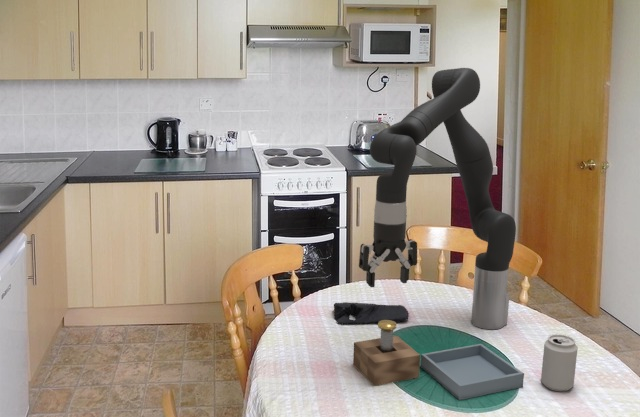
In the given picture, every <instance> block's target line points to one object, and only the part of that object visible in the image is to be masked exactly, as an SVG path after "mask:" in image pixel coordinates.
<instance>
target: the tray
mask: <svg viewBox="0 0 640 417" xmlns="http://www.w3.org/2000/svg"><path fill="white" fill-rule="evenodd" d="M420 368H421V369H422V368H423V369H424V371H425V373H427V374H428V375H429V376H430V375H431V376H430V377H432V378H433V379H434V380H435V381H436V382H437V383H439V384H440V385H441V386H442V387H443V388H445V390H446V391H448V392H449V393H450V394H452V395H453V396H454V397H455V398H456V399H457V400H459V401H462V400H467V399H472V398H476V397H481V396H485V395H486V396H487V395H490V394H491V395H492V394H495V393H501V392H505V391H510V390H514V389H520V388H523V387H524V378H525V373H524V372H522V371H521V370H520V369H518V368H517V367H516V366H514V365H512V363H510V362H508V361H507V360H505V359H504V358H502V357H501V356H500V355H498V354H497V353H496V352H494V351H492V350H491V349H490V348H488V347H487V346H485V345H484V344H482V343H475V344H471V345H466V346H460V347H455V348H449V349H444V350H443V349H442V350H436V351H432V352H427V353H421V354H420ZM423 369H422V370H423Z"/></svg>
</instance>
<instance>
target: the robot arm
mask: <svg viewBox="0 0 640 417" xmlns="http://www.w3.org/2000/svg"><path fill="white" fill-rule="evenodd" d="M431 90H432V91H431V92H432V96H433V98H432V99H429V100H428V101H426V102H424V103H421V104H419V105H418V106H416V107H415V108H413V109H412V110H411V111H410V112H409V113H408V114H407V115H406V116H404V117H403V118H402V119H401V120H400V121H399V122H396V123H394V124H392V125H390V126H387V127H386V128H384V129H382V130H380V131H379V132H378V133H377V134H375V136H374V137H372V138H373V139H372V141H371V142H370V146H369V153H370V156H371V158H372V159H373V161H375V162H377V163H380V164H383V165H385V164H386V165H389V166H390V165H391V166H394V167H393V170H392V172H391V173H384V174H381V175H379V176H378V177H377V179H376V185H375V186H376V189H375V204H374V208H373V210H374V212H373V213H374V216H373V243H372V244H365V243H362V244H360V247H359V248H360V249H359V256H358V257H359V259H358V268H359V269H361V270H362V271H364V272H365V274H366V278H365V282H366V284H367V285H368V286H369V287H370V288H375V286H376V284H375V283H376V280H375V279H376V272H375V271H376V270H377V268H378V267H379V266H380V265H381V264H382V263H388V262H390V261H391V262H396V261H398V262H399V263H400V265H401V266H400V275H399V279H400V280H399V282H401V283H402V284H407V282H408V281H409V278H410V268H411V267H413V266H417V265H418V242H417V241H415V240H414V239H411V238H410V239H408V240H407V241H406V240H405V239H406V235H407V234H406V231H407V217H408V214H407V213H408V212H407V208H408V207H407V189H408V187H407V186H408V182H409V179H410V174H411V172H412V168H413V165H414V162H415V160H416V156H417V146H418V145H420V144H422V142H424V141H425V140H426V138H427V137H429V136H430V135H431V134H432V133H433V132H434V131H435V129H437V128H438V127H439V126H440V125H442V123H443V124H444V126H445V130H446V132H447V135H448V136H447V137H448V140H449V142H450V145H451V148H452V149H451V150H452V152H453V156H454V160H455V163H456V164H455V165H456V168H457V171H458V174H459V176H460V180H461V183H462V188H463V192H464V195H465V198H466V202H467V207H468V212H469V219H470V220H469V221H470V224H471V225H470V226H471V229H472V232H473V234H474V235H475V237H477V238H478V239H479V240H481V241H483V242H486V243H487V247H486V251H485V252H481V253H478V254H477V255H476V257H475V263H474V277H473V290H472V291H473V292H472V305H471V306H472V307H471V317H470V318H471V320H470V321H471V324H472V325H473V326H475V327H477V328H480V329H483V330H484V329H485V330H498V329H501V328H503V327H504V326H507V325H508V320H509V319H508V317H509V307H510V305H509V304H510V293H509V292H508V281H509V280H508V279H509V270H510V267H509V266H510V262H511V260H512V258H513V256H514V255H513V254H514V248H515V241H516V235H517V234H516V233H517V226H516V221H515V219H514V218H513V216H512V215H511V214H508V213H505V212H503V211H500V210H496V208H495V207H494V205H493V202H492V199H491V196H490V184H491V181H492V177H493V173H494V164H493V160H492V159H493V158H492V155H491V152H490V148H489V144H488V143H487V142H486V140H485V138H483V136H482V135H481V134H480V133H479V132H478V131H477V130H476V129H475V128H474V127H473V126H472V125H471V123H470V122H469V121H468V120H467V119H466V117H465V116H464V113H463V112H462V109H464V108H466V107H467V106H469V105H471V104H472V103H473V102H475V100H477V97H478V96H479V94H480V90H481V80H480V77H479V74H478V73H477V72H476V70H474V69H473V68H471V67H470V68H469V67H458V68H450V69H447V68H446V69H442V70H437V71H436V72H435V73H434V74H433V76H432V79H431ZM406 249H407V258H406V256H405V255H404V253H403V252H404V251H405V250H406ZM372 251H373V253H372ZM371 253H372V255H371ZM370 255H371V256H370ZM369 256H370V258H369Z"/></svg>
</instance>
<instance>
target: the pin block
mask: <svg viewBox="0 0 640 417" xmlns="http://www.w3.org/2000/svg"><path fill="white" fill-rule="evenodd" d="M380 340H381V337H379V338H373V339H366V340H361V341H354V342H353V353H352V355H353V357H352V359H353V360H352V361H353V362H352V364H353V366H354V367H355V368H356V369H357V370H358V371H359V372H360V373H361V374H362V375H363V376H364V377H365V378H366V379H367V380H368V381H369V382H370V383H371V385H373V386H374V387H377V386H383V385H388V384H392V383H397V381H399V382H403V381H402V380H404V381H409V380H413V378H415V379H419V378H420V368H421V354H420V353H419V352H417V351H416V350H415V349H414V348H412V346H410V345H409V344H408V343H406V341H404V340H403V339H402V338H400V337H399V336H398V335H393V349H392V352H387V353H382V352H381V351H380ZM418 377H419V378H418ZM408 379H409V380H408Z"/></svg>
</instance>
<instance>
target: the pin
mask: <svg viewBox="0 0 640 417" xmlns="http://www.w3.org/2000/svg"><path fill="white" fill-rule="evenodd" d="M377 327H378V329H380V338H381V340H380V351H381V352H382V353H387V352H392V349H393V336H394V330H395V329H396V328H397V322H394V321H391V320H381V321H379V322H378V323H377Z"/></svg>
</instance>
